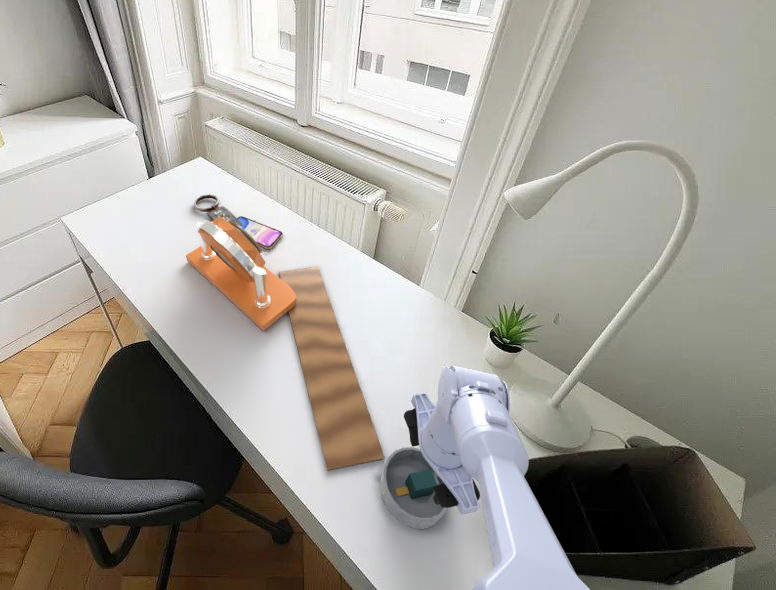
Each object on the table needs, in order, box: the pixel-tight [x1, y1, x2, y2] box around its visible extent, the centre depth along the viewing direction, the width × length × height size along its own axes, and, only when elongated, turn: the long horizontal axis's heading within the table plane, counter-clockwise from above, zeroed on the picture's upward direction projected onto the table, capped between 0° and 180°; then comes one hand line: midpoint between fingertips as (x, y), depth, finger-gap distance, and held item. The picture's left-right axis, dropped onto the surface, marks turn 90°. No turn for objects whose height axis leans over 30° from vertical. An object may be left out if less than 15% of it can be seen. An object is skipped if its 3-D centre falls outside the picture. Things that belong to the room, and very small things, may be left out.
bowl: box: [379, 446, 449, 530], centre depth 64 cm, size 10×10×4 cm
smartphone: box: [236, 215, 284, 250], centre depth 113 cm, size 8×15×1 cm, turn 58°
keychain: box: [193, 193, 242, 226], centre depth 120 cm, size 8×19×2 cm, turn 36°
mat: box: [278, 266, 385, 471], centre depth 85 cm, size 45×10×1 cm, turn 10°
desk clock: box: [185, 217, 296, 332], centre depth 94 cm, size 12×30×20 cm, turn 43°
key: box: [395, 469, 437, 499], centre depth 64 cm, size 6×2×4 cm, turn 100°
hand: (428, 470), depth 60 cm, fingers open, 7 cm apart
